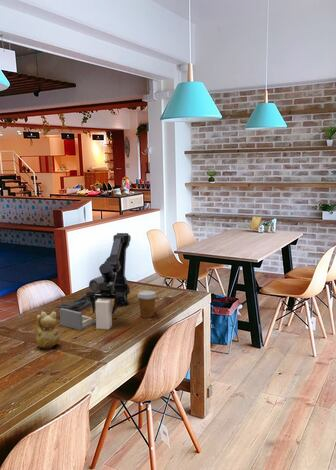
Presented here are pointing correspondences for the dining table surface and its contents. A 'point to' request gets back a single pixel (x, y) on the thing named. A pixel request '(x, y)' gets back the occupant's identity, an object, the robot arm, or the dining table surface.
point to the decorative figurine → (47, 330)
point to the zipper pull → (76, 304)
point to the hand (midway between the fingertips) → (103, 313)
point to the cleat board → (75, 319)
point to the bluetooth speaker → (96, 283)
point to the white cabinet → (103, 314)
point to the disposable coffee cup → (147, 302)
